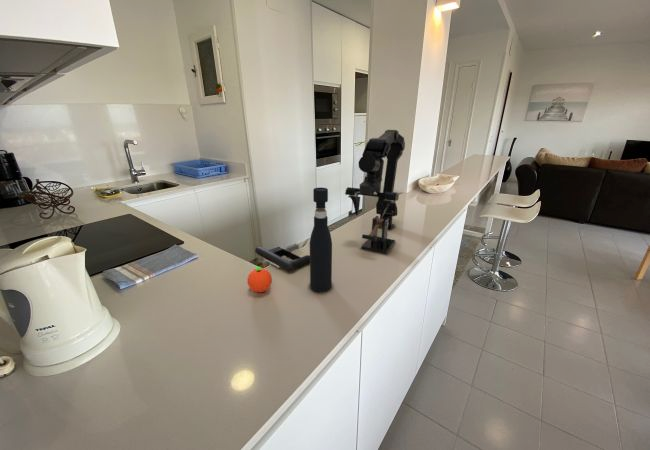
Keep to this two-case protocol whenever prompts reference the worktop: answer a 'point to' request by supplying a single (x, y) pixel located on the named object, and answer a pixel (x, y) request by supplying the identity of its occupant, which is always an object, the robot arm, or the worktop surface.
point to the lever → (374, 230)
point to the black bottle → (320, 245)
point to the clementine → (259, 280)
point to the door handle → (276, 258)
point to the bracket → (379, 239)
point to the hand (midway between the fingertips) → (368, 217)
